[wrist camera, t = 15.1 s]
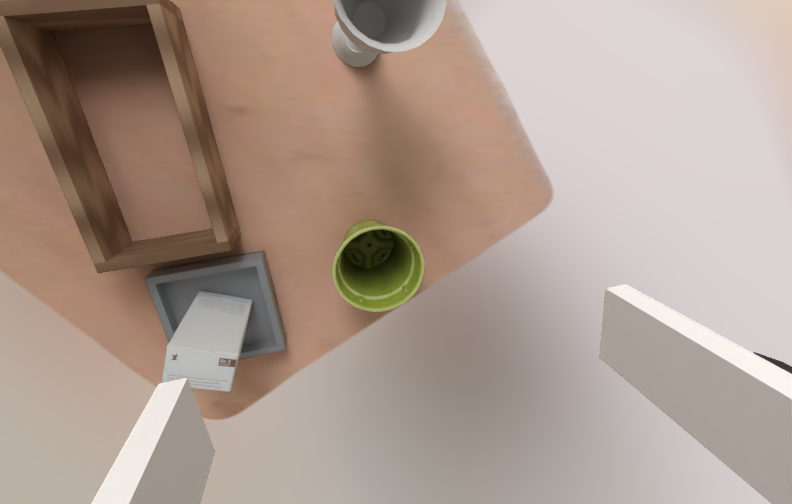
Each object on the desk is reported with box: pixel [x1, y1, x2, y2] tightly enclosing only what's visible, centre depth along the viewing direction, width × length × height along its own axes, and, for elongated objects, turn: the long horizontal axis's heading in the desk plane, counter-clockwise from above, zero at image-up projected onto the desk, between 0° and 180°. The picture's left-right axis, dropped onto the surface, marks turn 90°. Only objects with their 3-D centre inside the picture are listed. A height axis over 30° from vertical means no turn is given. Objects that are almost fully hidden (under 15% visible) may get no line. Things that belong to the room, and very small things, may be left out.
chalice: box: [332, 0, 447, 67], centre depth 32 cm, size 7×7×18 cm
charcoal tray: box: [145, 251, 286, 360], centre depth 45 cm, size 12×12×2 cm
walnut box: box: [0, 0, 240, 273], centre depth 36 cm, size 22×12×6 cm, turn 7°
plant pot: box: [332, 220, 424, 312], centre depth 43 cm, size 9×9×9 cm
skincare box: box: [161, 291, 253, 392], centre depth 40 cm, size 6×4×12 cm
